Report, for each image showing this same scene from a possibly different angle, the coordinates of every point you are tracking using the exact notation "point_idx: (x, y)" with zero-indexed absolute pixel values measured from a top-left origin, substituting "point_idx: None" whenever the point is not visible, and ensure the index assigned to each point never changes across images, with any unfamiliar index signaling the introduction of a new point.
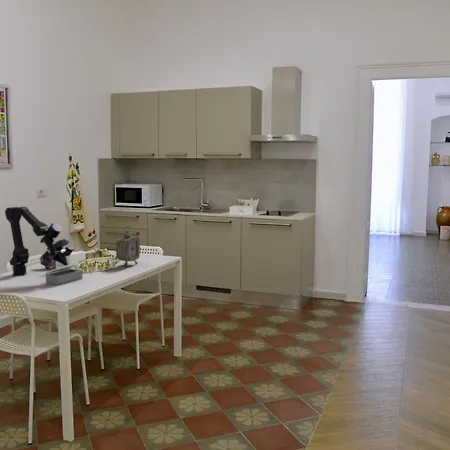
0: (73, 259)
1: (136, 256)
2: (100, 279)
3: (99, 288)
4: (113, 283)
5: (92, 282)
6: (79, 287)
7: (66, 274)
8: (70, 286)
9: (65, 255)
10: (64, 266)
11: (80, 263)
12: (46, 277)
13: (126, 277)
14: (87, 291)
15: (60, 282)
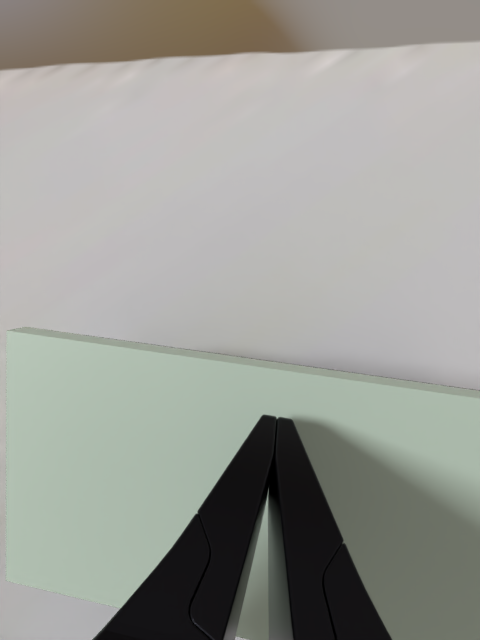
0: None
1: None
2: (104, 204)
3: (360, 50)
4: (195, 58)
5: (216, 197)
6: (403, 183)
7: (344, 371)
8: (411, 269)
9: (115, 637)
10: (397, 383)
11: (30, 328)
12: None
13: (3, 86)
14: (474, 64)
15: None
